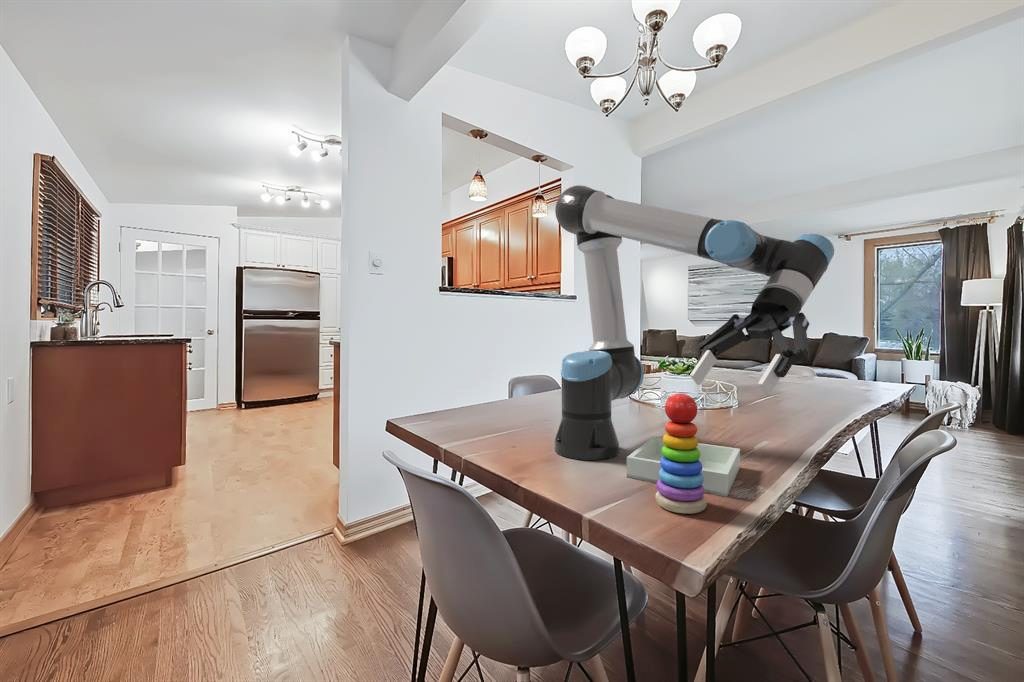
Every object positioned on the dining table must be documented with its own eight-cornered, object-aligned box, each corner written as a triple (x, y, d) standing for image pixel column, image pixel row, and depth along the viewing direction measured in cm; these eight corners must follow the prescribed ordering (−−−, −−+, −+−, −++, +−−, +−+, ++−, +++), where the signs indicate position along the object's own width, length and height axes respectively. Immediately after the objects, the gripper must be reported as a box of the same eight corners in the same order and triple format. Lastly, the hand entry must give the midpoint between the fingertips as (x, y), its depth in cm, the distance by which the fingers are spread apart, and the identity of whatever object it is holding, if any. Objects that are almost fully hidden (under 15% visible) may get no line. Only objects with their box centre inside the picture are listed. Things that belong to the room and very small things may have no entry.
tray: (626, 477, 86) (626, 457, 85) (652, 453, 101) (652, 436, 100) (727, 497, 76) (727, 474, 75) (739, 467, 90) (740, 448, 90)
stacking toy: (717, 512, 70) (719, 396, 69) (675, 519, 67) (676, 399, 67) (684, 493, 77) (685, 389, 76) (646, 499, 75) (646, 391, 74)
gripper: (865, 311, 72) (810, 410, 66) (731, 315, 95) (681, 389, 89) (848, 278, 70) (789, 378, 64) (714, 290, 92) (662, 364, 86)
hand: (726, 384), depth 76 cm, fingers open, 13 cm apart
